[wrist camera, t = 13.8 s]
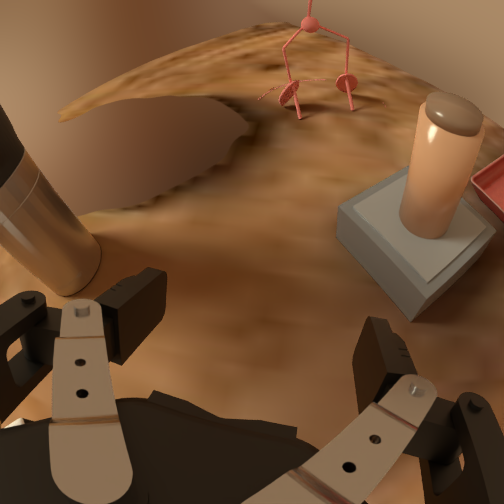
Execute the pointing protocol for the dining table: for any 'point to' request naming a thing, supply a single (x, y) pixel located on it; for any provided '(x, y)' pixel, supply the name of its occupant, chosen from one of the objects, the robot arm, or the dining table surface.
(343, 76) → the figurine
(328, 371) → the dining table surface
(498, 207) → the plant saucer
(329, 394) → the dining table surface
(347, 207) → the grey lidded square box
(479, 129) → the jar
